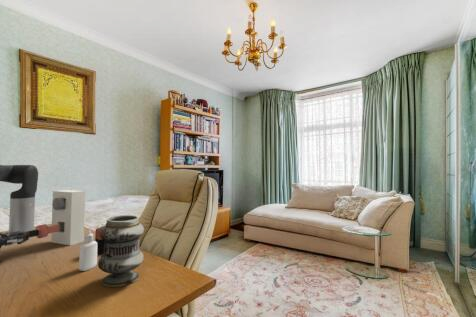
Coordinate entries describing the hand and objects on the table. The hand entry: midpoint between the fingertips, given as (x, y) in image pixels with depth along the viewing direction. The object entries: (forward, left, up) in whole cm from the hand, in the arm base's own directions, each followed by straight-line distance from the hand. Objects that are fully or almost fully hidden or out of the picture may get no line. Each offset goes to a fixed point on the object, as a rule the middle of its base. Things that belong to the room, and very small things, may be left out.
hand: (37, 232), depth 96 cm
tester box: (-8, +8, -7) cm, 14 cm away
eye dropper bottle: (+27, +21, -7) cm, 35 cm away
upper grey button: (-7, +7, +8) cm, 13 cm away
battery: (+12, +25, -7) cm, 28 cm away
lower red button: (-3, +3, -2) cm, 5 cm away
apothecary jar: (+40, +31, -7) cm, 51 cm away
